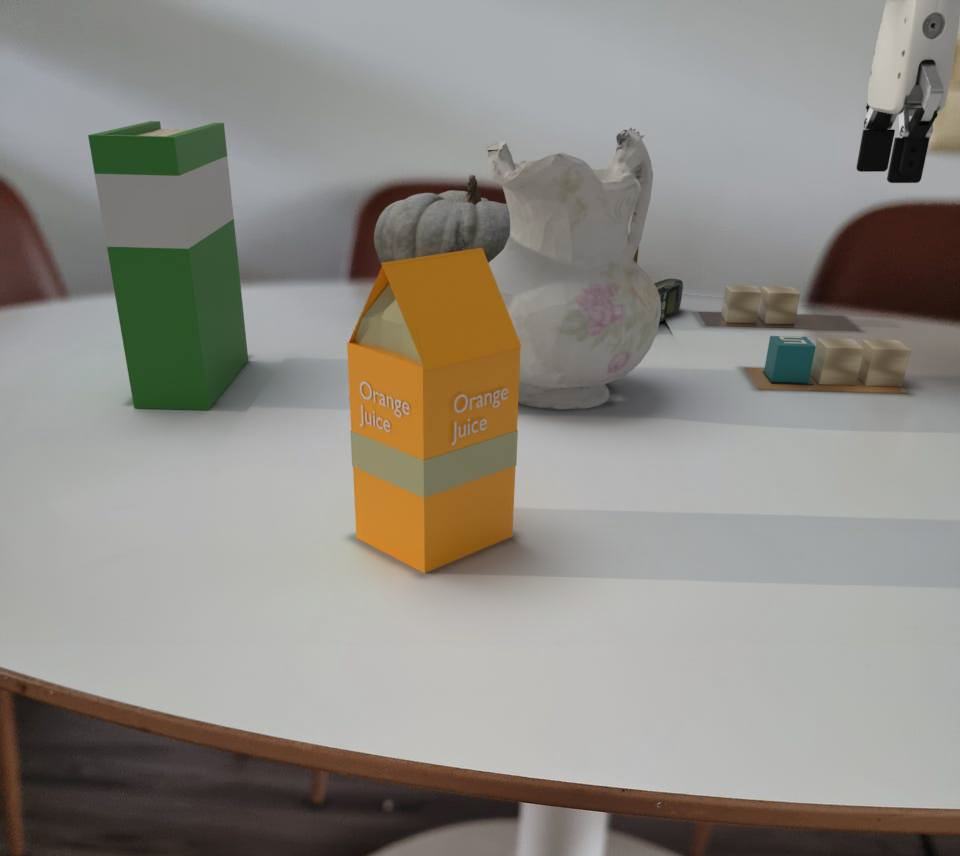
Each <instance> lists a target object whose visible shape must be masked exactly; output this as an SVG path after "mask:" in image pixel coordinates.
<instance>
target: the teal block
mask: <svg viewBox="0 0 960 856" xmlns="http://www.w3.org/2000/svg"><path fill="white" fill-rule="evenodd" d="M815 345H816V344H814V343H813V342H812V341H811V339H809V338H808V337H807V336H793V335H792V336H791V335H790V336H789V335H788V336H787V335H770V336H769V341H768V346H767V352H766V358H765V362H764V363H765V364H764V368H765V369H764V372H765V374H766V375H767V376H768V377H769V379H770V380H771V381H772V382H785V383H809V378H810V373H811V368H812V363H813V358H814V353H815V348H816V346H815Z"/></svg>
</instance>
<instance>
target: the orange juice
mask: <svg viewBox="0 0 960 856" xmlns="http://www.w3.org/2000/svg"><path fill="white" fill-rule="evenodd" d="M381 264H382V266H381V268H380V270H379V272H378V275H377V276H376V279H375V281H374V284H373V286H372V287H371V291H370V292H369V294H368V297H367V300H366V301H365V304H364V305H363V309H362V311H361V313H360V315H359V317H358V320H357V323H356V324H355V326H354V329H353V331H352V334H351V336H350V338H349V340H348V341H347V342H346V349H347V351H346V352H347V353H346V354H347V370H348V371H347V372H348V373H347V374H348V391H349V392H348V393H349V413H350V414H349V415H350V432H349V433H350V451H351V466H352V476H353V495H354V496H353V497H354V514H355V515H354V516H355V537H356V539H358V540H359V541H361V542H363V543H366V544H367V545H369V546H371V547H373V548H375V549H377V550H378V551H381V552H382V553H385V554H387V555H389V556H390V557H392V558H395V559H396V560H398V561H400V562H402V563H404V564H406V565H408V566H410V567H412V568H414V569H415V570H418V571H420V572H422V573H423V574H426V573H428V572H429V573H430V572H431V571H434V570H435V569H438V568H441V567H443V566H445V565H448V564H451V563H452V562H455V561H457V560H460V559H462V558H465V557H467V556H469V555H472V554H475V553H476V552H479V551H481V550H483V549H486V548H489V547H491V546H493V545H495V544H498V543H501V542H503V541H506V540H509V539H510V538H512V537H513V535H514V534H513V533H514V532H513V531H514V510H515V509H514V508H515V506H514V505H515V485H516V467H517V457H518V438H519V437H518V436H519V435H518V434H519V431H518V419H519V418H518V416H519V403H518V396H519V374H520V351H521V347H522V346H521V343H520V341H519V339H518V336H517V334H516V331H515V329H514V326H513V324H512V321H511V318H510V316H509V313H508V311H507V308H506V306H505V303H504V301H503V298H502V296H501V293H500V291H499V288H498V286H497V283H496V281H495V278H494V276H493V273H492V271H491V268H490V266H489V263H488V261H487V258H486V256H485V253H484V251H483V248H477V249H470V250H463V251H457V252H450V253H443V254H437V255H430V256H424V257H417V258H410V259H404V260H397V261H391V262H384V263H380V265H381Z"/></svg>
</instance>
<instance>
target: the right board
mask: <svg viewBox="0 0 960 856" xmlns="http://www.w3.org/2000/svg"><path fill="white" fill-rule="evenodd" d="M814 345H815V346H816V348H815V353H814V358H813V363H812V368H811V373H810V378H809V383H785V382H772V381H771V380H770V379H769V377H768V376H767V375H766V374H765V372H764V369H765V367H751V366H750V367H749V366H747V367H745V366H744V367H743V368H742V369H743V370H744V372H745V373H746V375H747V376H748V378H749V379H750V380H751V382H752V383H753V384H754V386H755V387H756V389H757V390H759V391H782V392H783V391H785V392H786V391H789V392H820V393H822V392H823V393H853V394H854V393H855V394H886V395H887V394H889V395H908V394H909V392H908V391H907V390H906V389H905V388H904V387H903V384H904V381H905V376H906V374H907V369H908V365H909V361H910V357H911V354H912V349H911V348H909V347H908V346H907V345H905V344H904V343H903V342H901V340H899V339H898V340H897V339H865V338H864V339H862V340H861V345H860V344H859V343H858V342H857V341H856V340H855V339H853V338H832V337H830V338H829V337H828V338H827V337H817V338H816V340H815V344H814Z"/></svg>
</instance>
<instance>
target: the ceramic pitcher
mask: <svg viewBox="0 0 960 856" xmlns="http://www.w3.org/2000/svg"><path fill="white" fill-rule="evenodd" d="M636 130H637V128H632V127H630V128H629V129H623V130H620V131H619V132H618V134H616V138H615V139H616V148H615V151H614V153H613V156H612V159H611V160H610V161H609V162H608V164H607V165H606V166H605V167H604V168H592V166H590V165H589V164H588V162H587V161H585V160H584V159H581V158H578V157H576V156H574V155H571V154H568V153H566V152H564V151H560V152H557V153H553V154H549V155H547V156H545V157H543V158H541V159H537V160H536V159H535V160H527V161H526V160H521V161H519V162H514V159H513V156H512V153H511V151H510V149H509V146H508V143H507V140H497V141H494V142H492V144H491V145H490V144H489V145H485V146H484V147H485V150H486V151H487V166H488V169H489V173H490V175H491V178H492V179H493V180H494V181H495V182H496V183H497V184H498V185H500V186H502V190H503V193H504V199H505V201H506V202H505V203H506V204H507V206H508V210H509V214H510V236H509V238H508V240H507V243H506V245H505V247H504V249H503V250H502V251H501V252H500V253H499V254H498V255H497V256H496V257H495V258H494V259H493V260H491V261H490V262H489V266H490V268H491V271H492V273H493V276H494V278H495V281H496V283H497V286H498V288H499V291H500V293H501V296H502V298H503V301H504V303H505V306H506V308H507V311H508V313H509V316H510V318H511V321H512V324H513V326H514V329H515V331H516V334H517V336H518V339H519V341H520V343H521V346H522V347H521V351H520V374H519V396H518V404H521V405H525V406H529V407H533V408H541V409H549V410H584V409H591V408H593V407H598V406H601V405H604V404H605V403H606V402H608V401H609V397H610V390H609V388H608V386H607V384H610V383H613V382H616V381H618V380H621V379H622V378H624V377H626V376H627V375H628V374H630V373H631V372H632V371H633V370H634V369H635V368H637V367H638V366H639V364H640V363H641V362H642V361H643V359H644V358H645V357H646V355H647V354H648V352H649V351H650V350H651V348H652V345H653V344H654V341H655V339H656V337H657V334H658V331H659V326H660V323H659V321H660V316H661V301H660V297H659V293H658V290H657V288H656V286H655V284H654V283H655V282H654V280H653V278H652V277H651V276H650V275H649V274H648V272H646V270H644V269H643V268H641V266H639V264H638V262H637V263H636V262H635V261H634V260H633V259H634V255H635V253H636V251H637V248H638V246H640V245H641V244H640V243H641V241H642V239H643V232H644V229H645V228H644V227H645V224H646V219H647V216H648V211H649V207H650V202H651V198H652V189H653V180H654V171H653V166H652V160H651V157H650V155H649V152H648V149H647V146H646V145H645V142H644V141H643V140H642V139H643V138H644V137H645V136H646V135H644V134H643V135H641V134H640V131H636ZM638 249H639V248H638Z"/></svg>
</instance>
